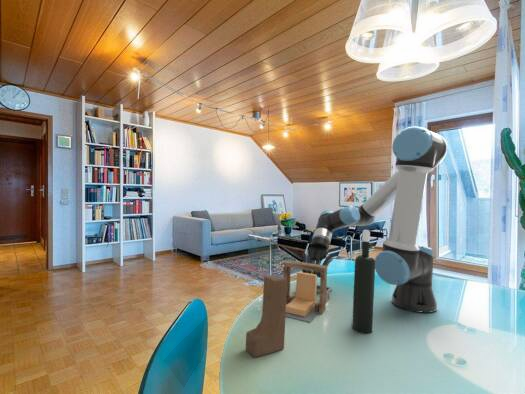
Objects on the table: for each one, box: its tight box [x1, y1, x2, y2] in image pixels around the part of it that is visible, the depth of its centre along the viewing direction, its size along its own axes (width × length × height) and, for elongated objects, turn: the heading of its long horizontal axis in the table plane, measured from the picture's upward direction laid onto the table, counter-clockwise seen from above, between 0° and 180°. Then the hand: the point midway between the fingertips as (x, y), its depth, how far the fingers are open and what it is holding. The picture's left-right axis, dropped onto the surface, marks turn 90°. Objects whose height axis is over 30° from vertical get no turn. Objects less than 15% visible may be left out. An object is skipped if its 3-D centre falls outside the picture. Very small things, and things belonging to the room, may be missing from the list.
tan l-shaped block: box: [286, 271, 318, 317], centre depth 99 cm, size 12×7×11 cm, turn 153°
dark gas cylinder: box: [351, 229, 376, 335], centre depth 86 cm, size 6×6×30 cm
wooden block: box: [245, 274, 287, 358], centre depth 72 cm, size 9×4×18 cm, turn 122°
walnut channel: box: [282, 259, 331, 315], centre depth 107 cm, size 16×15×16 cm
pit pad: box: [316, 284, 333, 295], centre depth 121 cm, size 8×8×1 cm
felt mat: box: [285, 308, 320, 324], centre depth 96 cm, size 11×12×1 cm
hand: (306, 291), depth 106 cm, fingers closed
